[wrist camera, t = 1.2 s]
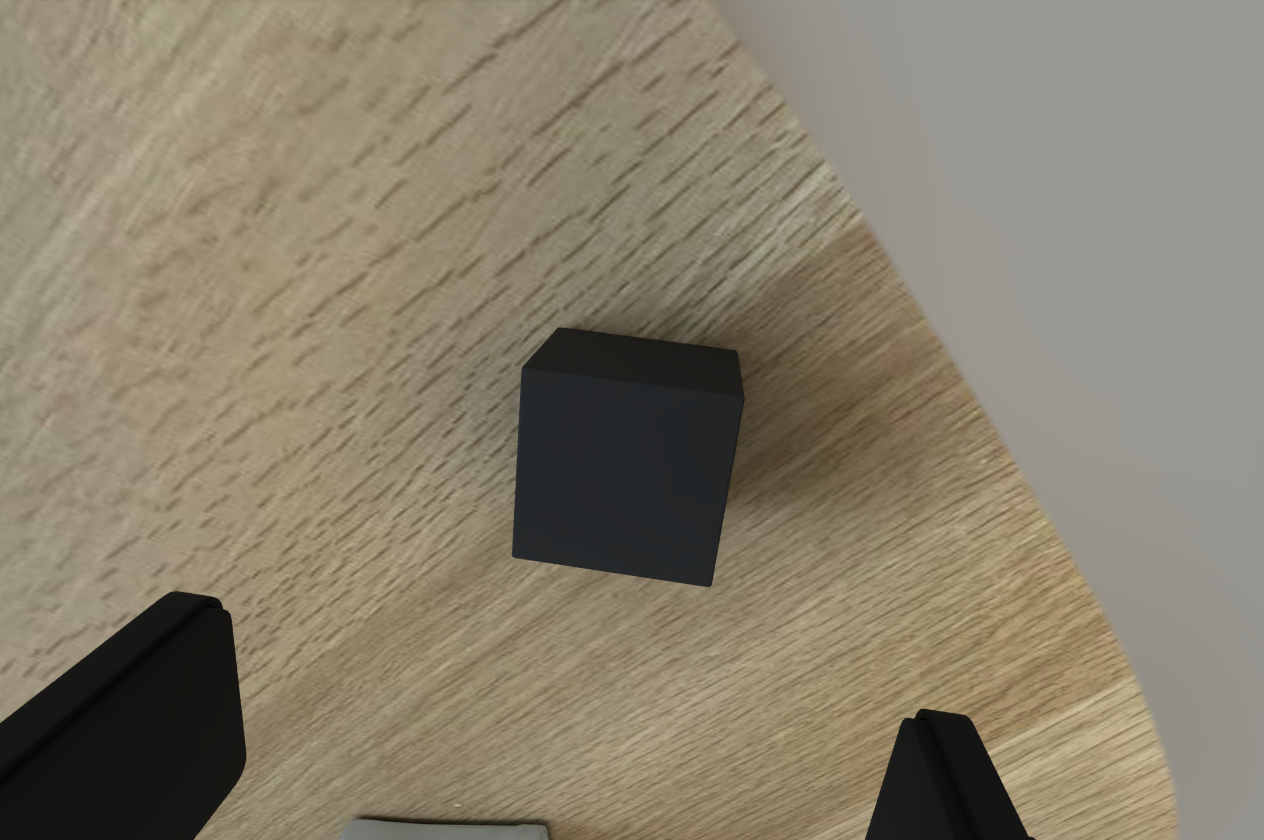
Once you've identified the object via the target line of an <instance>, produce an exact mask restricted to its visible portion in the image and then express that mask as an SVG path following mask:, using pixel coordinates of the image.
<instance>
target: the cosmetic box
mask: <svg viewBox="0 0 1264 840" xmlns="http://www.w3.org/2000/svg"><path fill="white" fill-rule="evenodd" d="M339 840H548V834H547V829H546V827H545V826H544V825H530V824H521V825H517V826H495V825H430V824H412V823H398V822H385V821H378V820H365V819H358V820H353V821H351V822H349V823H348V824H347V825H346V827H345V829H344V831H343V833H342V834H341V836H340V838H339Z"/></svg>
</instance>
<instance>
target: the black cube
mask: <svg viewBox="0 0 1264 840" xmlns="http://www.w3.org/2000/svg"><path fill="white" fill-rule="evenodd" d="M744 399H745V398H744V392H743V385H742V379H741V372H740V366H739V359H738V353H737V351H736V350H728V349H721V348H713V347H705V346H698V345H690V344H683V343H675V342H667V341H660V340H652V339H644V338H637V337H629V336H622V335H614V334H606V333H599V332H591V331H583V330H576V329H568V328H561V327H559V328H557V329H556V330H555V332H554V333H553V334H552V335H551V336H550V337H549V338H548V339H547V340H546V341H545V343H544V344H543V345H542V346H541V347H540V348H539V349H538V350H537V351H536V353H535V354H534V355H533V356H532V357H531V358H530V359H529V360H528V361H527V363H526V364H525V365H524V366H523V367H522V372H521V392H520V411H519V430H518V450H517V469H516V488H515V508H514V527H513V546H512V556H513V557H514V558H519V559H526V560H533V561H539V562H546V563H552V564H559V565H566V566H572V567H579V568H585V569H592V570H599V571H605V572H612V573H618V574H625V575H632V576H638V577H645V578H651V579H658V580H665V581H671V582H678V583H684V584H691V585H698V586H704V587H710V586H711V585H712V580H713V575H714V569H715V563H716V558H717V552H718V546H719V541H720V535H721V529H722V524H723V518H724V512H725V507H726V501H727V496H728V490H729V484H730V479H731V473H732V467H733V462H734V456H735V450H736V445H737V439H738V433H739V428H740V422H741V416H742V411H743V405H744Z"/></svg>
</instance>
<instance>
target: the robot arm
mask: <svg viewBox="0 0 1264 840" xmlns="http://www.w3.org/2000/svg"><path fill="white" fill-rule="evenodd" d="M245 762H246V746H245V737H244V727H243V718H242V709H241V700H240V691H239V682H238V673H237V663H236V654H235V645H234V636H233V627H232V619H231V615H230V613H229V612H228V611H227V610H224V609H223V607H222V603H221V602H220V601H219V599H218V598H215V597H211V596H205V595H198V594H192V593H186V592H179V591H175V592H170V593H168V594H166V595H165V596H163V597H162V598H160V599H159V600H158V601H157V602H155V603H154V604H153V605H151V606H150V607H149V608H148V609H146V610H145V611H144V612H142V613H141V614H140V615H139V616H137V617H136V618H135V619H133V620H132V621H131V622H130V623H128V624H127V625H126V626H124V627H123V628H122V629H121V630H119V631H118V632H117V633H115V634H114V635H113V636H112V637H110V638H109V639H108V640H106V641H105V642H104V643H103V644H101V645H100V646H99V647H97V648H96V649H95V650H94V651H92V652H91V653H90V654H88V655H87V656H86V657H85V658H83V659H82V660H81V661H79V662H78V663H77V664H76V665H74V666H73V667H72V668H71V669H69V670H68V671H67V672H65V673H64V674H63V675H62V676H60V677H59V678H58V679H56V680H55V681H54V682H53V683H51V684H50V685H49V686H47V687H46V688H45V689H44V690H42V691H41V692H40V693H38V694H37V695H36V696H35V697H33V698H32V699H31V700H29V701H28V702H27V703H26V704H24V705H23V706H22V707H20V708H19V709H18V710H17V711H15V712H14V713H13V714H11V715H10V716H9V717H8V718H6V719H5V720H4V721H2V722H1V723H0V840H194V838H195V837H196V836H197V834H198V833H199V832H200V831H201V829H202V828H203V827H204V825H205V824H206V823H207V821H208V820H209V819H210V818H211V816H212V815H213V814H214V812H215V811H216V810H217V808H218V807H219V806H220V805H221V803H222V802H223V801H224V799H225V798H226V797H227V795H228V794H229V793H230V792H231V790H232V789H233V788H234V786H235V785H236V783H237V782H238V780H239V779H240V777H241V775H242V772H243V769H244V767H245ZM865 840H1036V839H1035V838H1033V837H1029V836H1028V834H1027V832H1026V830H1025V828H1024V826H1023V824H1022V822H1021V820H1020V818H1019V816H1018V814H1017V812H1016V810H1015V808H1014V806H1013V804H1012V802H1011V800H1010V798H1009V796H1008V794H1007V792H1006V789H1005V787H1004V785H1003V783H1002V781H1001V779H1000V777H999V775H998V773H997V771H996V769H995V767H994V765H993V763H992V761H991V759H990V757H989V755H988V753H987V751H986V749H985V747H984V744H983V742H982V740H981V738H980V736H979V734H978V732H977V730H976V728H975V726H974V724H973V723H972V721H971V720H970V718H969V717H967V716H966V715H961V714H955V713H948V712H942V711H936V710H929V709H920V710H919V711H918V712H917V714H916V716H915V718H914V719H912V718H905V719H904V720H903V721H902V723H901V726H900V729H899V732H898V735H897V738H896V742H895V745H894V748H893V751H892V754H891V758H890V761H889V764H888V767H887V770H886V774H885V777H884V780H883V783H882V787H881V790H880V793H879V796H878V799H877V803H876V806H875V809H874V812H873V815H872V819H871V822H870V825H869V828H868V832H867V835H866V838H865Z"/></svg>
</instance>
